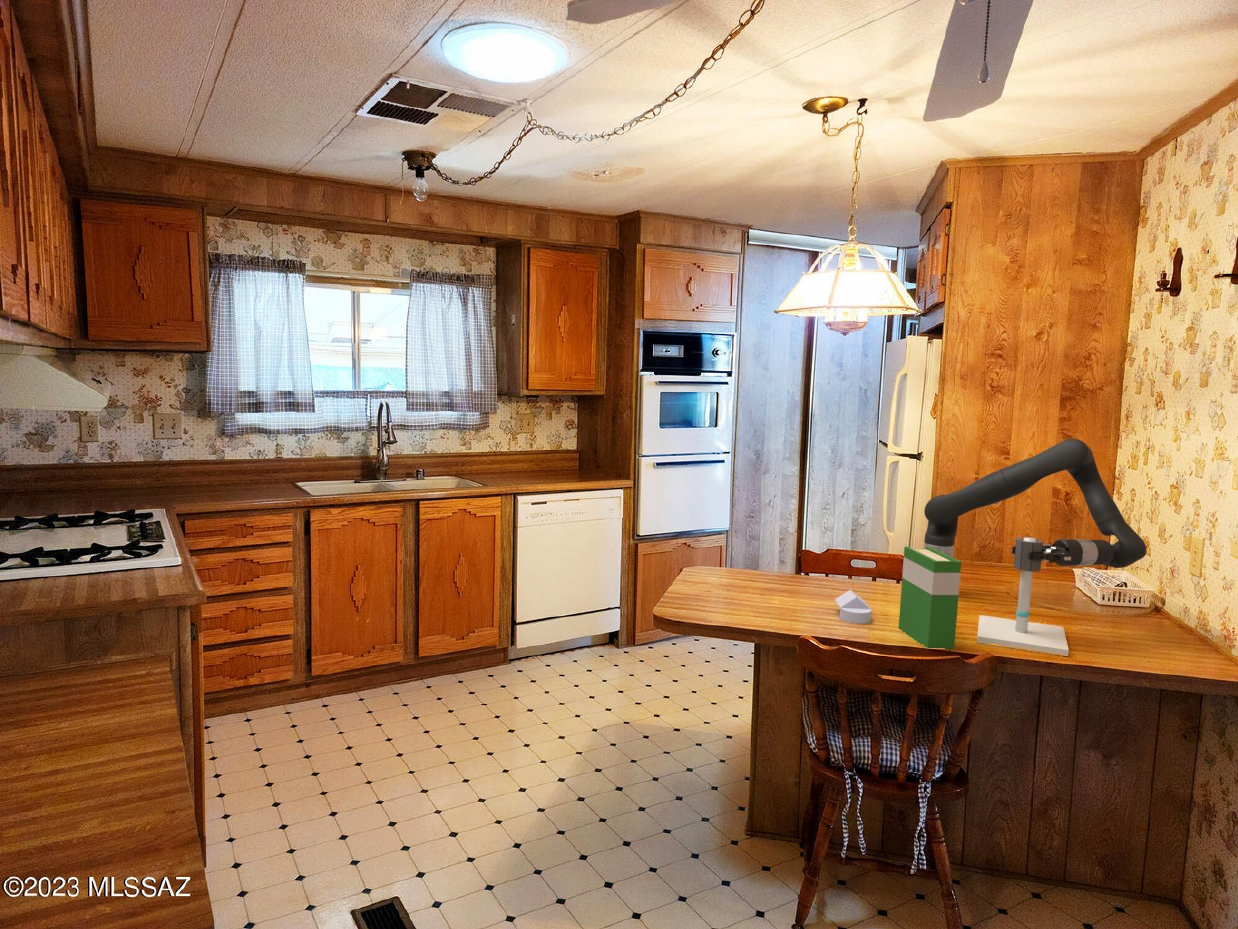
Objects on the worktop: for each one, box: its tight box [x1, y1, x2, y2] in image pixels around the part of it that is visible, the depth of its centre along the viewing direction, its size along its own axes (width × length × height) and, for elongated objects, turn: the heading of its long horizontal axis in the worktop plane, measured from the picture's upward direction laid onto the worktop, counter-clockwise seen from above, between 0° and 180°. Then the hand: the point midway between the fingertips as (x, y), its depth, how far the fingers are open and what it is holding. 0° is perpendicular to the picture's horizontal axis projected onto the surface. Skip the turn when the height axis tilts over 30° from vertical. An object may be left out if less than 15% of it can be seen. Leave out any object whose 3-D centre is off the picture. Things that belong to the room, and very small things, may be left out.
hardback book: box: [898, 546, 962, 650], centre depth 224 cm, size 18×7×24 cm, turn 6°
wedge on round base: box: [834, 589, 872, 625], centre depth 243 cm, size 9×7×13 cm
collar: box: [1013, 537, 1044, 573], centre depth 226 cm, size 7×7×8 cm
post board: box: [976, 537, 1069, 657], centre depth 227 cm, size 22×22×28 cm
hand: (1021, 553), depth 225 cm, fingers closed on collar, 6 cm apart
